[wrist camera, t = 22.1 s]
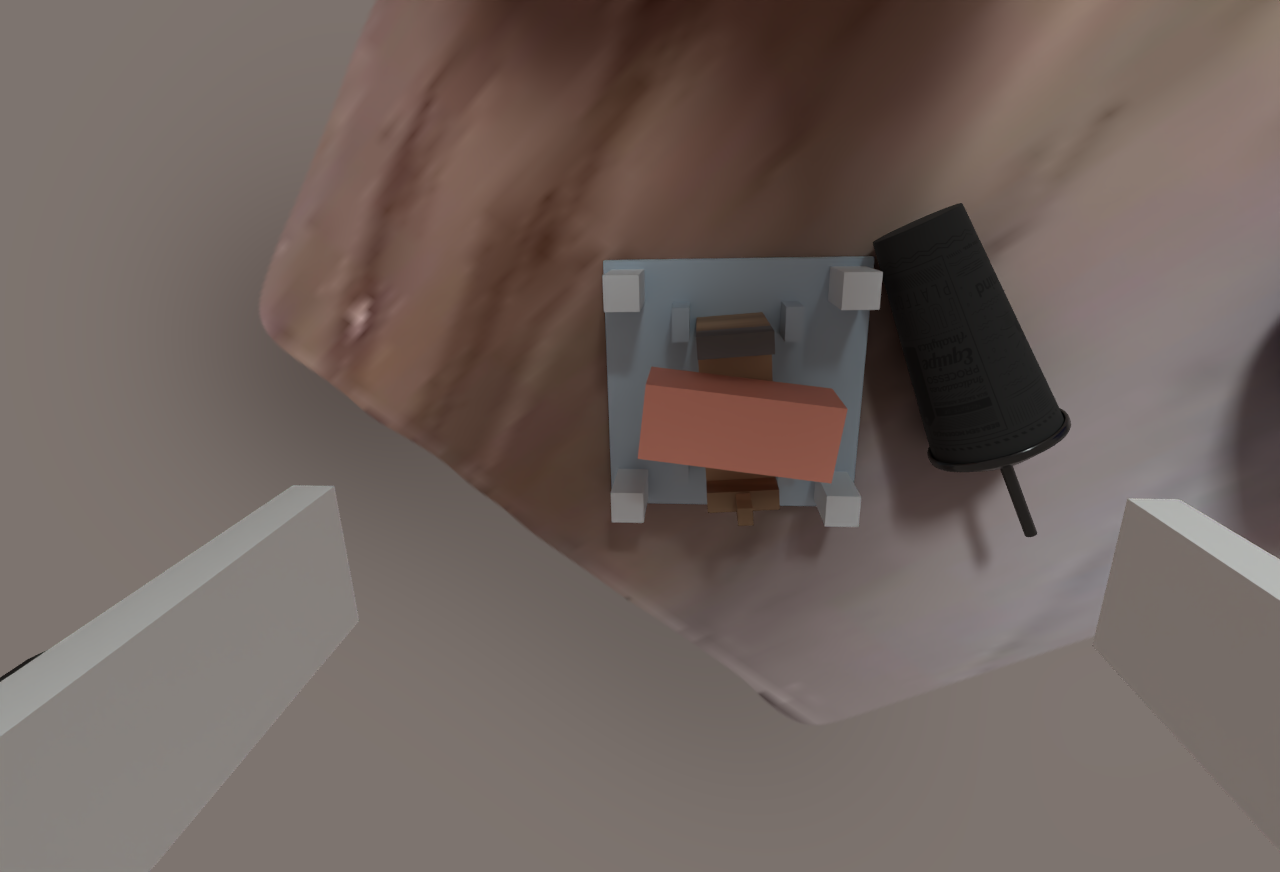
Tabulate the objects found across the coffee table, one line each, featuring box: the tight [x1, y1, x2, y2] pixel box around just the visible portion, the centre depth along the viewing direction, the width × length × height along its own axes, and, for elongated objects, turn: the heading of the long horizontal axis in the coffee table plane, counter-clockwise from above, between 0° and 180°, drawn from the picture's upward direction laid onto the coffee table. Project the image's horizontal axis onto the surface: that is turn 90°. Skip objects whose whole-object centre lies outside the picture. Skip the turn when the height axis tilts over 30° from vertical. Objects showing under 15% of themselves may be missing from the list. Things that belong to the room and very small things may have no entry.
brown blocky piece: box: [696, 312, 780, 526], centre depth 38 cm, size 10×4×9 cm, turn 5°
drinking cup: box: [873, 203, 1071, 537], centre depth 38 cm, size 8×8×20 cm
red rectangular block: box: [638, 367, 848, 483], centre depth 35 cm, size 10×4×4 cm, turn 84°
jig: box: [602, 256, 883, 527], centre depth 40 cm, size 16×16×5 cm
